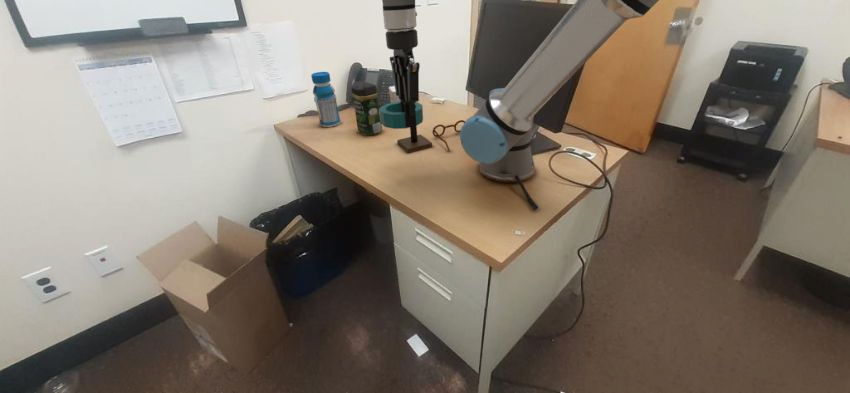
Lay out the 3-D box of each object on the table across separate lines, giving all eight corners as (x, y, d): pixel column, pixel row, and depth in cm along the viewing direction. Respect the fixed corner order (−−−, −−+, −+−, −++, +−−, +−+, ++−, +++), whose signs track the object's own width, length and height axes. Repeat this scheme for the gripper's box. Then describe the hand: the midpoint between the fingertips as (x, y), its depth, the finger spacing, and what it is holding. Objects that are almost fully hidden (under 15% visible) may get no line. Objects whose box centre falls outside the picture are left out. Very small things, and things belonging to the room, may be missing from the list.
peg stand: (432, 147, 117) (430, 107, 110) (408, 153, 114) (404, 113, 107) (420, 138, 124) (418, 100, 117) (397, 143, 121) (393, 105, 114)
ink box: (390, 113, 149) (387, 86, 142) (409, 111, 151) (407, 83, 144) (395, 120, 142) (392, 91, 135) (415, 117, 144) (413, 88, 137)
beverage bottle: (330, 128, 137) (319, 76, 127) (315, 125, 141) (303, 75, 131) (345, 122, 143) (336, 71, 133) (330, 119, 147) (320, 70, 136)
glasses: (465, 131, 127) (465, 118, 125) (483, 144, 117) (483, 129, 114) (432, 138, 123) (431, 125, 121) (448, 152, 113) (448, 137, 110)
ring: (429, 122, 96) (429, 108, 93) (390, 131, 92) (389, 117, 89) (412, 112, 105) (411, 98, 102) (376, 119, 101) (374, 106, 98)
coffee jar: (354, 131, 133) (346, 82, 123) (372, 126, 137) (365, 77, 128) (367, 138, 127) (359, 86, 117) (385, 132, 131) (379, 82, 121)
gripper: (429, 30, 77) (434, 130, 90) (403, 25, 89) (410, 115, 101) (398, 34, 75) (408, 136, 87) (375, 29, 86) (386, 120, 99)
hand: (409, 124), depth 94 cm, fingers closed on ring, 2 cm apart
